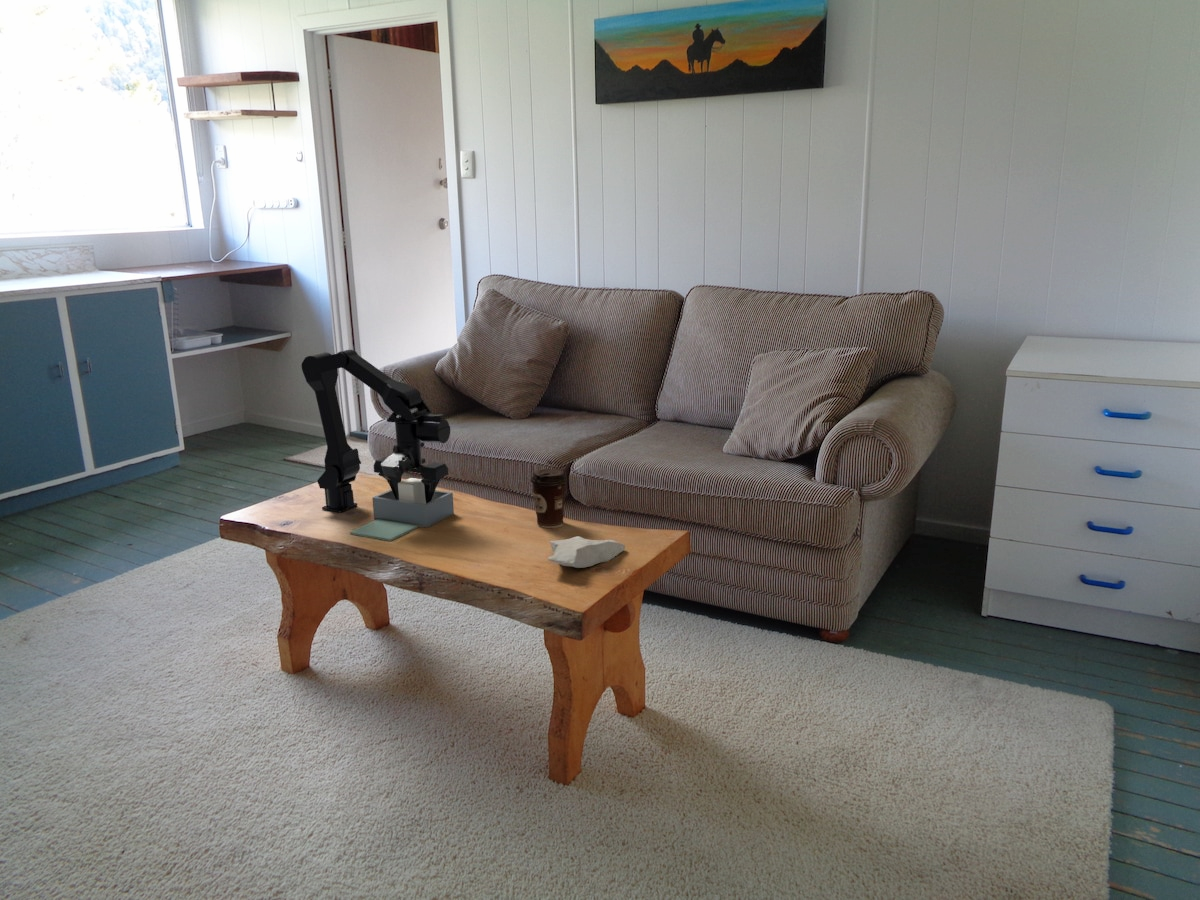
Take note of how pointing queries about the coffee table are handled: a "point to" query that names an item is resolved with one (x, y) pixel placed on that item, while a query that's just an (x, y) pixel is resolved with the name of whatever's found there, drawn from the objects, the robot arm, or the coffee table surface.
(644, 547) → the coffee table surface
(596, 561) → the rock
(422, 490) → the block
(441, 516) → the slot box
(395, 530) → the board
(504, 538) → the coffee table surface
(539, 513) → the coffee cup
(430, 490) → the robot arm
